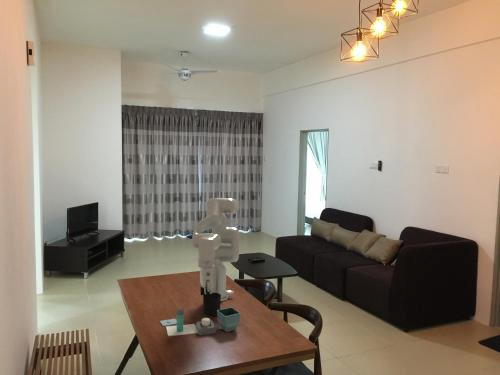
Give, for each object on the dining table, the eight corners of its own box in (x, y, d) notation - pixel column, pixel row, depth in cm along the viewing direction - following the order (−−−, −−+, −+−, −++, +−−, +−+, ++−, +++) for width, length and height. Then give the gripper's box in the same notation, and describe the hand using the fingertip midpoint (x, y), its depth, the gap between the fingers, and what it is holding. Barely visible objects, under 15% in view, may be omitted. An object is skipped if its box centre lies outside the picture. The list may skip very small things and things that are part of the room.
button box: (212, 326, 202) (212, 320, 202) (215, 333, 194) (215, 327, 194) (195, 327, 200) (196, 321, 199) (198, 335, 192) (198, 328, 192)
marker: (183, 328, 198) (183, 308, 197) (184, 331, 194) (184, 310, 193) (176, 329, 197) (176, 308, 196) (176, 332, 193) (176, 311, 192)
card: (175, 319, 209) (175, 318, 209) (178, 323, 204) (178, 322, 204) (159, 321, 206) (159, 320, 206) (162, 326, 200) (162, 325, 200)
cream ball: (208, 324, 199) (209, 317, 199) (210, 327, 196) (210, 320, 195) (200, 325, 198) (201, 318, 198) (202, 328, 194) (202, 321, 194)
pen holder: (217, 317, 213) (218, 299, 212) (200, 315, 214) (200, 297, 214) (222, 311, 222) (222, 293, 221) (205, 309, 224) (206, 291, 223)
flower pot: (224, 334, 193) (225, 316, 192) (216, 327, 201) (216, 310, 200) (240, 331, 198) (241, 313, 197) (231, 324, 205) (232, 306, 205)
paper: (194, 324, 203) (194, 323, 203) (198, 333, 194) (198, 332, 194) (166, 327, 199) (166, 326, 199) (168, 336, 190) (168, 335, 190)
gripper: (217, 267, 187) (216, 304, 188) (210, 257, 203) (209, 291, 205) (201, 268, 185) (200, 305, 186) (195, 258, 201) (194, 292, 203)
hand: (205, 298), depth 196 cm, fingers open, 8 cm apart
